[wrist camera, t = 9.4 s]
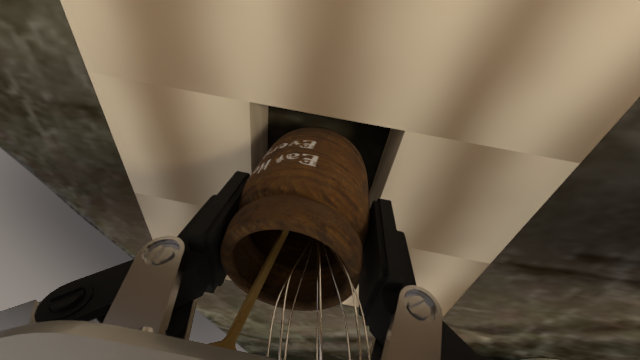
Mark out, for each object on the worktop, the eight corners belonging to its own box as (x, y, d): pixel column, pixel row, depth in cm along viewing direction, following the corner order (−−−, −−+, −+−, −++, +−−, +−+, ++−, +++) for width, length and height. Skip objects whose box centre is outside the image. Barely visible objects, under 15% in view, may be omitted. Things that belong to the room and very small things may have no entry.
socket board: (684, -64, 9) (814, -98, 6) (427, 290, 22) (436, 323, 20) (73, -160, 9) (-27, -225, 7) (183, 240, 23) (162, 266, 20)
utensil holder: (388, 176, 14) (474, 588, 4) (311, 223, 16) (244, 525, 7) (318, 98, 12) (101, 522, 2) (245, 167, 15) (7, 474, 5)
